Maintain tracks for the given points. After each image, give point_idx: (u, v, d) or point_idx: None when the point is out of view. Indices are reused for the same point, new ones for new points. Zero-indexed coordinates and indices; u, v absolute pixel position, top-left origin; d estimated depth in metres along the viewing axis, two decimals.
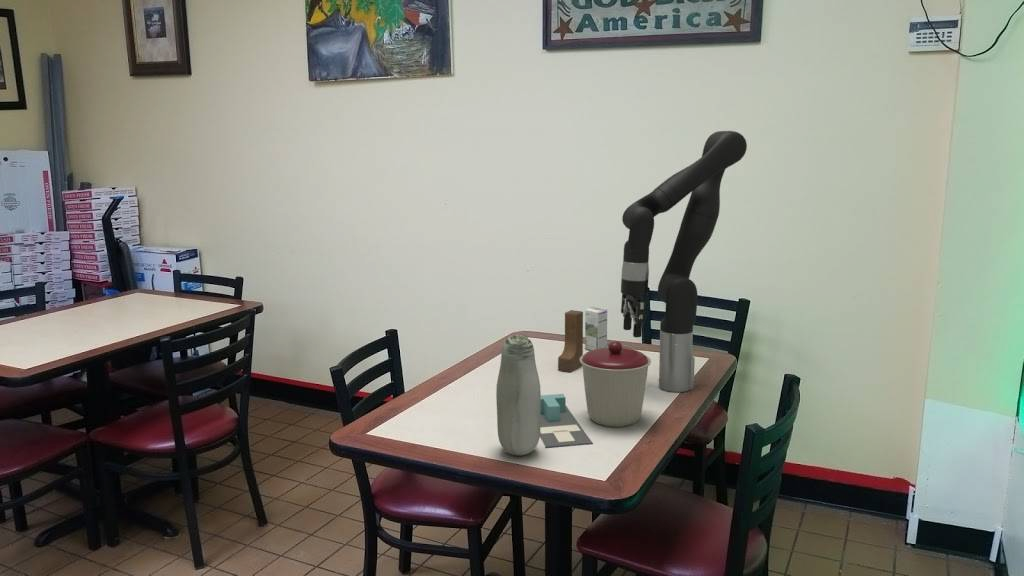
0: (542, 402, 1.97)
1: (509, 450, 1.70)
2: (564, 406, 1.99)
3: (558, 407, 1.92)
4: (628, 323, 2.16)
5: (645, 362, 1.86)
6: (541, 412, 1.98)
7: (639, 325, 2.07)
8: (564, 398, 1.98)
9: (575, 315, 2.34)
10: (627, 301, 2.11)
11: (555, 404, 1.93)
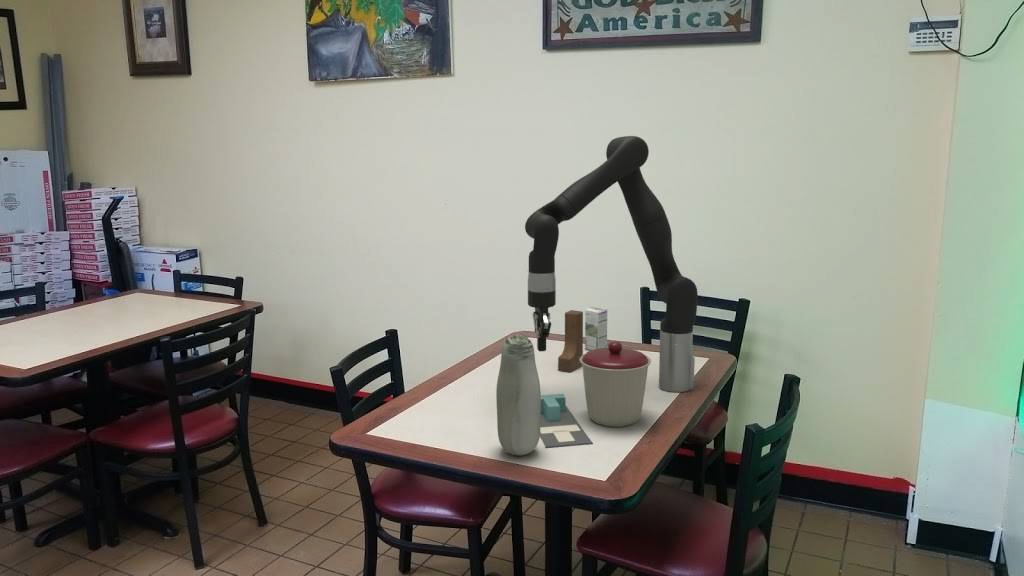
0: (542, 402, 1.97)
1: (509, 450, 1.70)
2: (564, 406, 1.99)
3: (558, 407, 1.92)
4: None
5: (645, 362, 1.86)
6: (541, 412, 1.98)
7: (543, 339, 2.02)
8: (564, 398, 1.98)
9: (575, 315, 2.34)
10: (535, 312, 2.02)
11: (555, 404, 1.93)
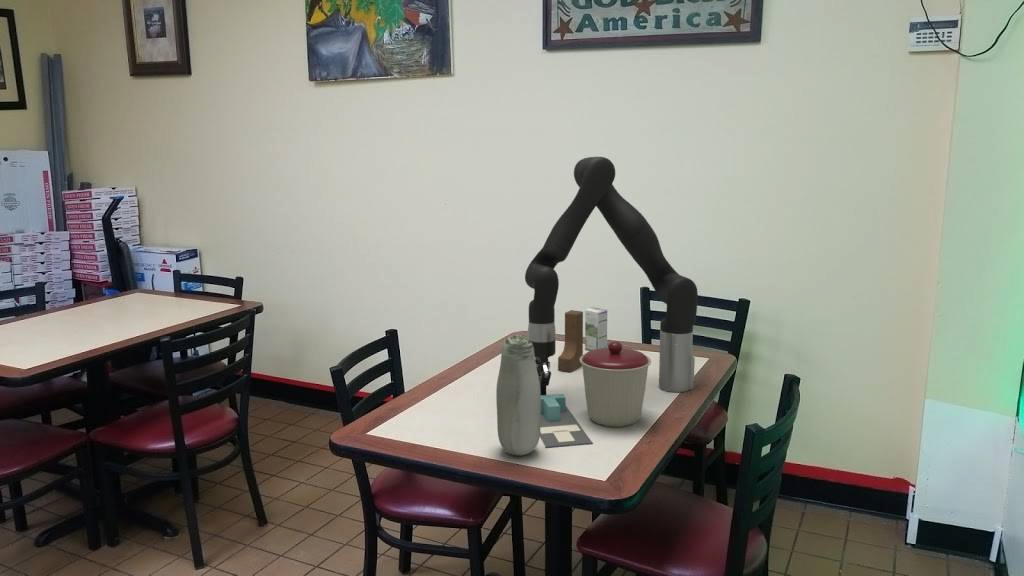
0: (542, 402, 1.97)
1: (509, 450, 1.70)
2: (564, 406, 1.99)
3: (558, 407, 1.92)
4: None
5: (645, 362, 1.86)
6: (541, 412, 1.98)
7: (543, 387, 2.04)
8: (564, 398, 1.98)
9: (575, 315, 2.34)
10: (535, 360, 2.05)
11: (555, 404, 1.93)
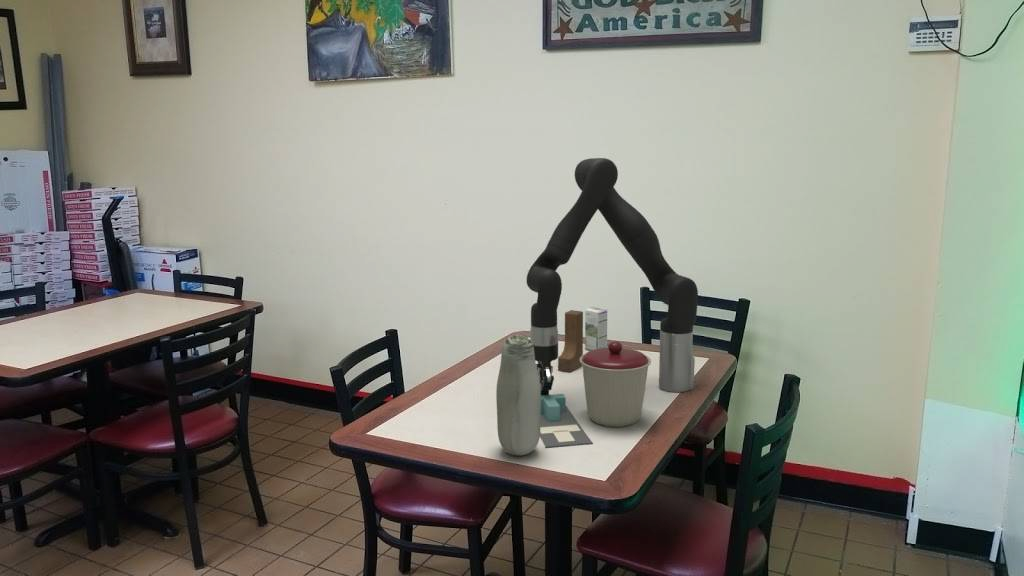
0: (542, 402, 1.97)
1: (509, 450, 1.70)
2: (564, 406, 1.99)
3: (558, 407, 1.92)
4: None
5: (645, 362, 1.86)
6: (541, 412, 1.98)
7: (546, 391, 2.01)
8: (564, 398, 1.98)
9: (575, 315, 2.34)
10: (537, 364, 2.02)
11: (555, 404, 1.93)
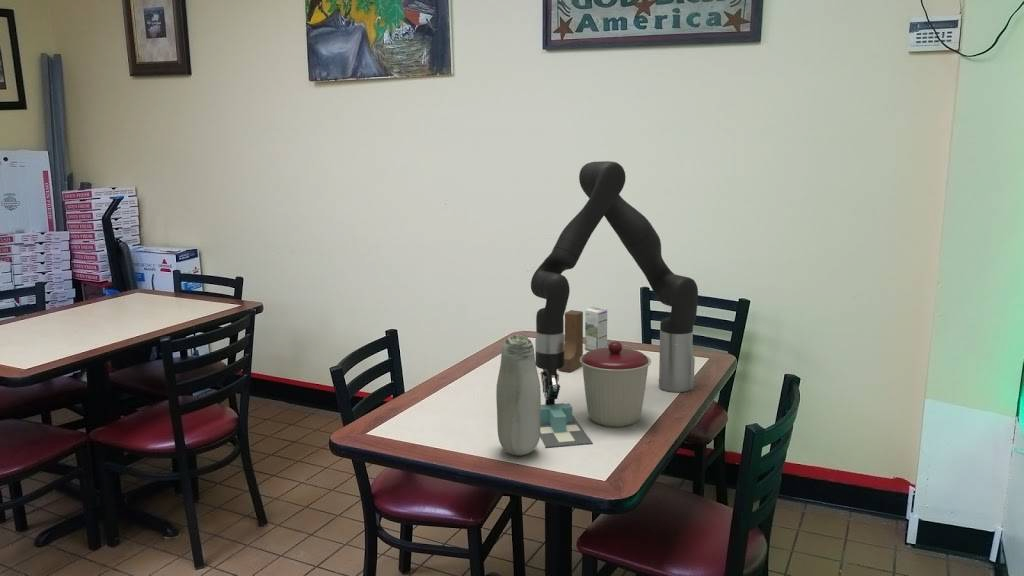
0: (548, 412, 1.90)
1: (509, 450, 1.70)
2: (571, 416, 1.91)
3: (564, 418, 1.85)
4: None
5: (645, 362, 1.86)
6: (546, 423, 1.91)
7: (551, 400, 1.94)
8: (571, 408, 1.91)
9: (575, 315, 2.34)
10: (543, 372, 1.94)
11: (561, 414, 1.86)
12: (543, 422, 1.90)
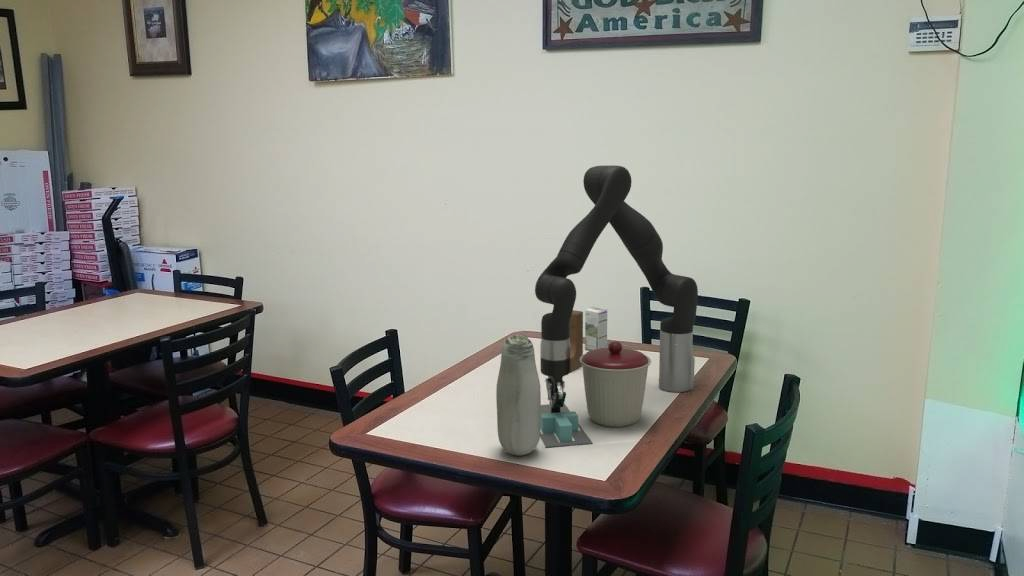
0: (553, 420, 1.84)
1: (509, 450, 1.70)
2: (577, 425, 1.86)
3: (570, 426, 1.79)
4: None
5: (645, 362, 1.86)
6: (552, 431, 1.85)
7: (557, 408, 1.88)
8: (577, 416, 1.85)
9: (575, 315, 2.34)
10: (548, 379, 1.89)
11: (567, 423, 1.80)
12: (548, 431, 1.85)
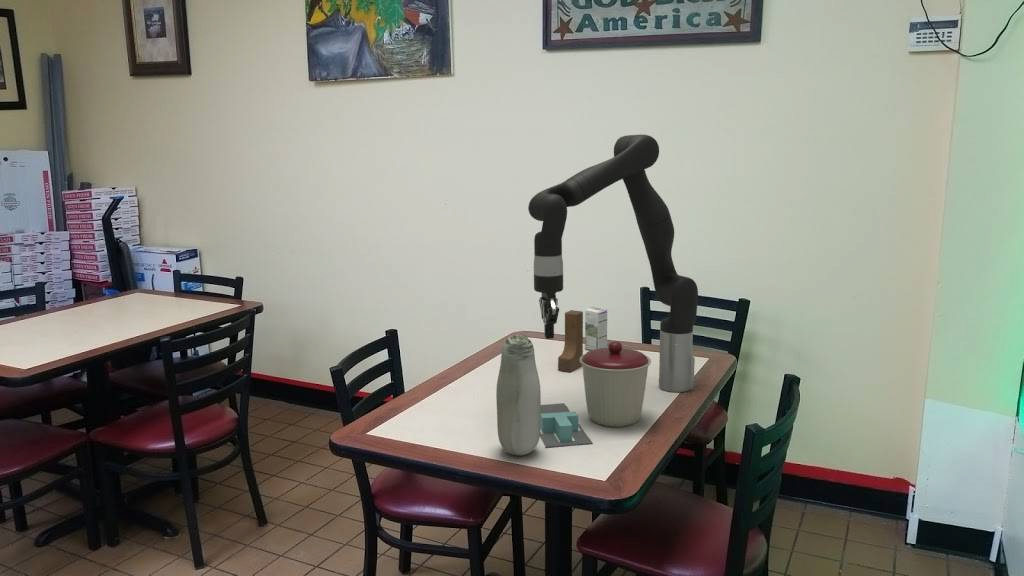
0: (553, 420, 1.84)
1: (509, 450, 1.70)
2: (577, 425, 1.86)
3: (570, 426, 1.79)
4: None
5: (645, 362, 1.86)
6: (552, 431, 1.85)
7: (550, 325, 1.92)
8: (577, 416, 1.85)
9: (575, 315, 2.34)
10: (541, 297, 1.92)
11: (567, 423, 1.80)
12: (548, 431, 1.85)
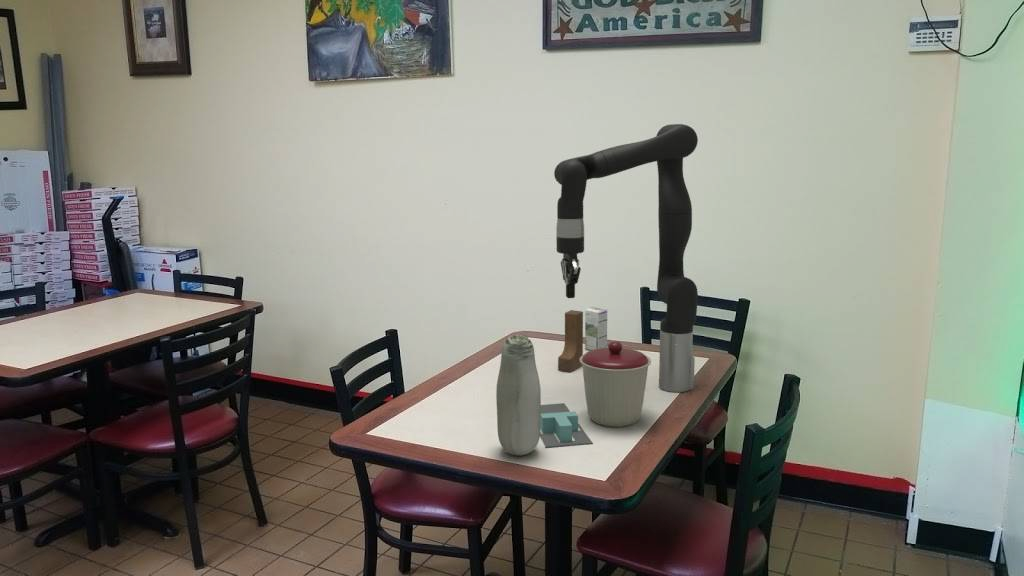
0: (553, 420, 1.84)
1: (509, 450, 1.70)
2: (577, 425, 1.86)
3: (570, 426, 1.79)
4: None
5: (645, 362, 1.86)
6: (552, 431, 1.85)
7: (572, 285, 2.03)
8: (577, 416, 1.85)
9: (575, 315, 2.34)
10: (563, 259, 2.04)
11: (567, 423, 1.80)
12: (548, 431, 1.85)
